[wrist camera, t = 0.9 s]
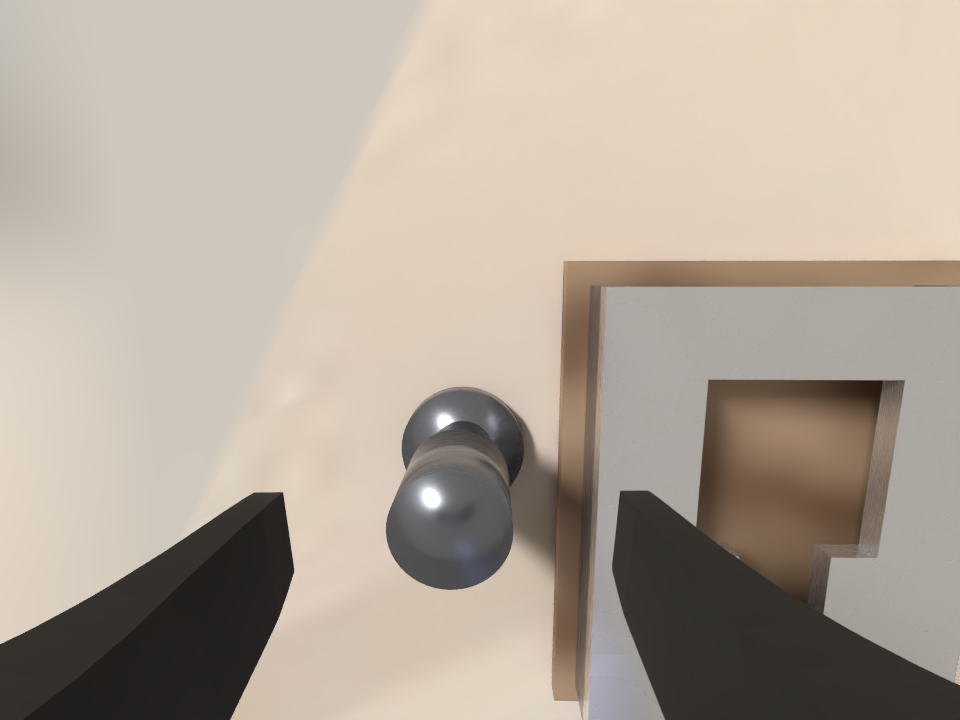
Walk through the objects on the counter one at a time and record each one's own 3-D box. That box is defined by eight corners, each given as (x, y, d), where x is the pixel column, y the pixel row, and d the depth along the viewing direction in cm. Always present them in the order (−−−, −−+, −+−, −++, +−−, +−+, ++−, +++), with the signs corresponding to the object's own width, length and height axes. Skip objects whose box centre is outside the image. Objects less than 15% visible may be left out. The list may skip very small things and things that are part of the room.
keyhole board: (884, 689, 25) (900, 706, 24) (551, 683, 25) (554, 700, 24) (956, 261, 21) (979, 260, 20) (563, 261, 22) (567, 261, 21)
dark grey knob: (521, 499, 24) (536, 613, 16) (406, 498, 24) (364, 610, 16) (523, 387, 23) (540, 448, 15) (403, 386, 23) (356, 446, 15)
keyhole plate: (883, 688, 24) (941, 749, 21) (574, 683, 24) (586, 742, 21) (950, 285, 20) (1031, 287, 17) (590, 285, 21) (607, 287, 18)
